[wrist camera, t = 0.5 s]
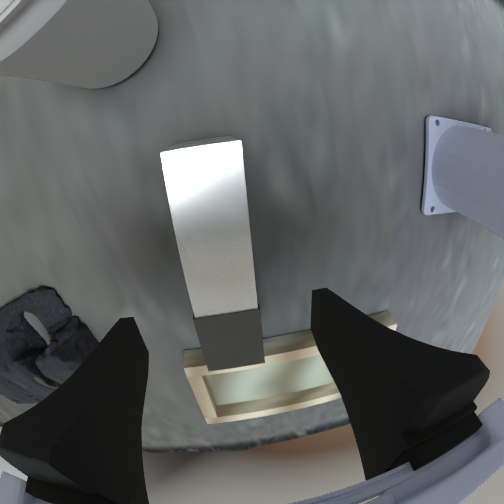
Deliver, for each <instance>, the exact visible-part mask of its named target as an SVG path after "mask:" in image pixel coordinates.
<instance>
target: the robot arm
mask: <svg viewBox="0 0 504 504" xmlns="http://www.w3.org/2000/svg"><path fill="white" fill-rule="evenodd" d="M435 121H436V124H435ZM431 207H432V208H431ZM430 209H431V210H430ZM451 212H458V213H460V214H462V215H464V216H465V217H467V218H469V219H471V220H473V221H475V222H476V223H478V224H480V225H482V226H483V227H485V228H487V229H488V230H490V231H492V232H493V233H495V234H497V235H498V236H500V237H502V238H503V239H504V135H501V134H497V133H493V132H492V130H491V129H490V128H488V127H484V126H480V125H476V124H472V123H467V122H463V121H458V120H453V119H448V118H443V117H437V116H431V115H430V116H427V118H426V157H425V176H424V189H423V200H422V213H423V214H425V215H434V214H442V213H451ZM311 331H312V334H313V337H314V340H315V343H316V346H317V348H318V351H319V353H320V355H321V357H322V359H323V361H324V363H325V365H326V367H327V368H328V370H329V372H330V374H331V376H332V378H333V380H334V382H335V384H336V386H337V388H338V390H339V392H340V395H341V397H342V399H343V402H344V405H345V408H346V411H347V413H348V416H349V419H350V422H351V425H352V428H353V432H354V435H355V438H356V442H357V445H358V449H359V453H360V457H361V461H362V464H363V469H364V474H365V479H366V481H364V482H361V483H359V484H356V485H353V486H351V487H347V488H345V489H342V490H338V491H335V492H332V493H329V494H325V495H322V496H318V497H315V498H311V499H307V500H303V501H298V502H294V503H290V504H358V503H361V502H364V501H366V500H369V499H371V498H374V497H376V496H379V495H380V496H379V497H377V498H375V499H373V500H371V501H369V502H367V503H364V504H460V503H461V502H462V501H464V500H465V499H466V498H468V497H469V496H470V495H471V494H472V493H474V492H475V491H476V490H477V489H478V488H479V487H481V486H482V485H483V484H484V483H485V482H486V481H487V480H488V479H490V478H491V477H492V476H493V475H494V474H495V473H496V472H497V471H498V470H499V469H500V468H501V467H502V466H503V465H504V401H503V400H502V399H501V398H499V399H497V400H496V401H495V402H494V403H492V404H491V405H490V406H489V407H487V408H486V409H485V410H484V411H482V412H481V413H480V414H479V415H478V416H477V415H476V414H475V412H474V411H475V410H476V409H477V406H476V404H475V403H474V402H473V401H474V399H475V398H476V396H477V395H478V394H479V392H480V391H481V389H482V388H483V387H484V385H485V384H486V382H487V380H488V378H489V373H490V370H489V369H488V368H487V367H486V366H485V364H484V363H483V362H482V361H481V360H480V358H479V357H478V356H477V355H473V354H467V353H461V352H455V351H450V350H446V349H442V348H439V347H435V346H432V345H429V344H426V343H423V342H420V341H417V340H415V339H412V338H410V337H407V336H405V335H403V334H401V333H399V332H396V331H394V330H392V329H390V328H388V327H386V326H384V325H383V324H381V323H379V322H377V321H376V320H374V319H372V318H371V317H369V316H367V315H366V314H364V313H363V312H361V311H360V310H358V309H357V308H355V307H354V306H352V305H351V304H349V303H348V302H346V301H345V300H343V299H342V298H341V297H339V296H338V295H336V294H335V293H333V292H332V291H331V290H329V289H328V288H322V289H317V290H312V308H311ZM148 365H149V352H148V350H147V348H146V345H145V343H144V341H143V339H142V336H141V334H140V332H139V329H138V327H137V324H136V322H135V320H134V317H128V318H120V319H119V320H118V321H117V322H116V323H115V325H114V326H113V327H112V328H111V329H110V331H109V332H108V333H107V334H106V336H105V337H104V338H103V339H102V341H101V342H100V343H99V344H98V346H97V347H96V348H95V349H94V350H93V352H92V353H91V354H90V355H89V356H88V357H87V358H86V360H85V361H84V362H83V363H82V364H81V365H80V367H79V368H78V369H77V370H76V371H75V372H74V373H73V374H72V375H71V376H70V377H69V378H68V379H67V380H66V381H65V382H64V383H63V384H62V385H60V386H59V387H58V388H57V389H56V390H55V391H53V392H52V393H51V394H50V395H48V396H47V397H46V398H45V399H43V400H42V401H41V402H39V403H38V404H37V405H35V406H34V407H32V408H31V409H29V410H28V411H26V412H24V413H23V414H21V415H19V416H17V417H15V418H13V419H12V420H10V421H8V422H6V423H4V425H3V427H2V431H1V434H0V456H1V457H2V458H4V459H5V460H6V461H7V462H9V463H10V464H11V465H12V466H14V467H15V468H17V469H18V470H19V471H21V472H22V473H24V474H25V475H27V476H28V479H27V482H26V481H24V480H22V479H20V478H18V477H16V476H13V475H11V474H8V473H6V472H2V474H1V478H0V504H149V501H148V497H147V491H146V485H145V478H144V471H143V461H142V438H141V426H142V414H143V407H144V400H145V393H146V386H147V379H148Z"/></svg>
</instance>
